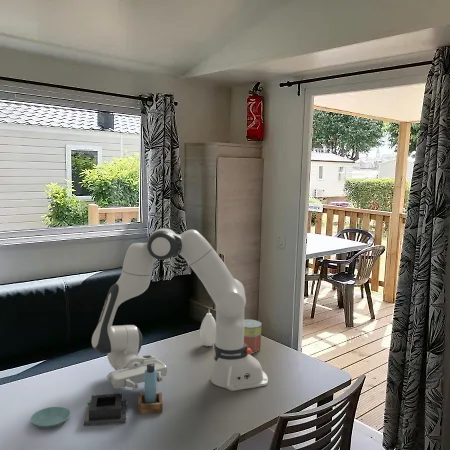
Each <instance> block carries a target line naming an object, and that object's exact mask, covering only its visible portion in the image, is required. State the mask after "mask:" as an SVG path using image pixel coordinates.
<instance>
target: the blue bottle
mask: <svg viewBox="0 0 450 450" xmlns="http://www.w3.org/2000/svg"><path fill="white" fill-rule="evenodd" d="M144 393H145V399H144V403H143V404H146V403H157V402H156V393H157V370H156V369H155V365H154V364H148V365H147V369H146V370H145V382H144Z"/></svg>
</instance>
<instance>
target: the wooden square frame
mask: <svg viewBox="0 0 450 450" xmlns="http://www.w3.org/2000/svg"><path fill="white" fill-rule="evenodd" d="M144 399H145V392H143V393H138V403H137V404H138V406H137V407H138V415H143V414H144V415H145V414H146V415H147V414H156V413H157V414H158V413H161V414H162V413H163V408H164V405H163V404H164V402H163V393H162V392H156V403H146V404H144Z"/></svg>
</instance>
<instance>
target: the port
mask: <svg viewBox="0 0 450 450" xmlns="http://www.w3.org/2000/svg"><path fill="white" fill-rule="evenodd" d="M90 399H91V400H89V401H88V402H87V403H86V404H87V405H86V409H85V414H84V418H83V427H86V426H87V427H88V426H91V427H92V426H103V425H104V426H105V425H118V424H126V422H127V408H128V407H127V405H128V400H127V399H124V400H123V393H110V394H109V393H106V394H94V395H93V394H92V395H91V398H90Z"/></svg>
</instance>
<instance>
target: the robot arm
mask: <svg viewBox="0 0 450 450" xmlns="http://www.w3.org/2000/svg"><path fill="white" fill-rule="evenodd" d="M179 255H180V256H181V257H182V258H183V259H184V261H186V263H187V264H188V266H189V267H190V268H191V270H192V271H193V272H194V274H196V276H197V277H198V280H200V281H201V283H202V285H203V286H204V288H205V290H206V291H207V293H208V294H209V296H210V298H211V300H212V301H213V303H214V304H215V306H216V310H215V312H216V313H215V322H216V340H215V342H214V344H213V346H214V347H213V359H214V360H213V367H212V372H211V375H210V378H209V380H210V382H211V383H212V384H214V385H215V386H218V387H221V388H223V389H227V390H229V391H233V392H235V391H241V390H246V389H253V388H258V387H264V386H265V387H266V386H267V385H268V384H269V377H268V375H267V373H266V372H265V371H263V368H262V365H261V363H260V361H259V360H258V359H257V358H255V357H254V356H252V355H251V354H253V353H252V350H251V349H250V348H249V347H248V346H247V345H246V344H245V343H244V319H245V308H246V304H247V298H246V291H245V286H244V285H243V283H242V282H241V281H240V280H238V279H237V278H234V276H233V275H232V273H231V272H230V270H229V269H228V267H227V265H226V263H225V262H224V261H223V260H222V258H221V257H220V256H219V254H218V253H217V252H216V250H215V249H214V248H213V246H212V244H211V243H209V241H208V240H207V239H206V238H205V237H204V236H203V234H201V233H200V232H199V231H198V230H196V229H188V230H185V231H183V232H182V233H180V234H179V233H177V232H176V231H175V230H173V229H172V228H169V227H161V228H158V229H156V230H154V231H153V232H152V233H151V235H150V236H149V237H148V239H147V241H146V242H134V243H131V245H129V247H128V248H127V249H126V253H125V256H124V260H123V263H122V269H121V273H120V276H119V278H118V279H117V281H116V283H114V284H112V285H111V286H110V288H109V290H108V292H107V296H106V298H105V300H104V304H103V307H102V310H101V312H100V315H99V317H98V318H99V319H98V321H97V324H96V327H95V329H94V330H93V333H92V336H91V347H92V348H93V349H94V350H95V352H97V353H98V354H100V355H105V354H107V359H108V363H109V364H110V366H111V367H112V368H113V369H114V370H112V371H111V372H109V373H108V374H107V375H106V379H108V380H109V381H110V383H111V385H112V387H113V388H114V389H123V388H126V387H127V388H131V389H132V390H134V389H138V384H140V383H141V384H142V383H145V370H146V369H147V365H148V364H154V365H155V369H156V370H157V380H156V382H158V383H160V382H161V383H162V382H163V377H166V376H167V374H168V367H167V365H166V364H165V363H164V362H163V361H161V360H159V359H157V358H155V356H154V355H151V354H150V355H139V354H140V351H141V349H142V347H143V346H142V345H143V334H142V332H141V330H140V328H139V327H137V325H135V324H123V325H113V322H114V319H115V316H116V313H117V310H118V307H120V305H121V304H122V303H125V302H126V301H128V300H130V299H132V298H135V297H138V296H140V295H142V294H143V293H144V292H146V291H147V290H148V288H149V286H150V283H151V279H152V273H153V266H154V264H155V263H154V262H155V261H156V260H159V261H161V260H162V261H164V260H169V259H172V258H174V257H177V256H179Z"/></svg>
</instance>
